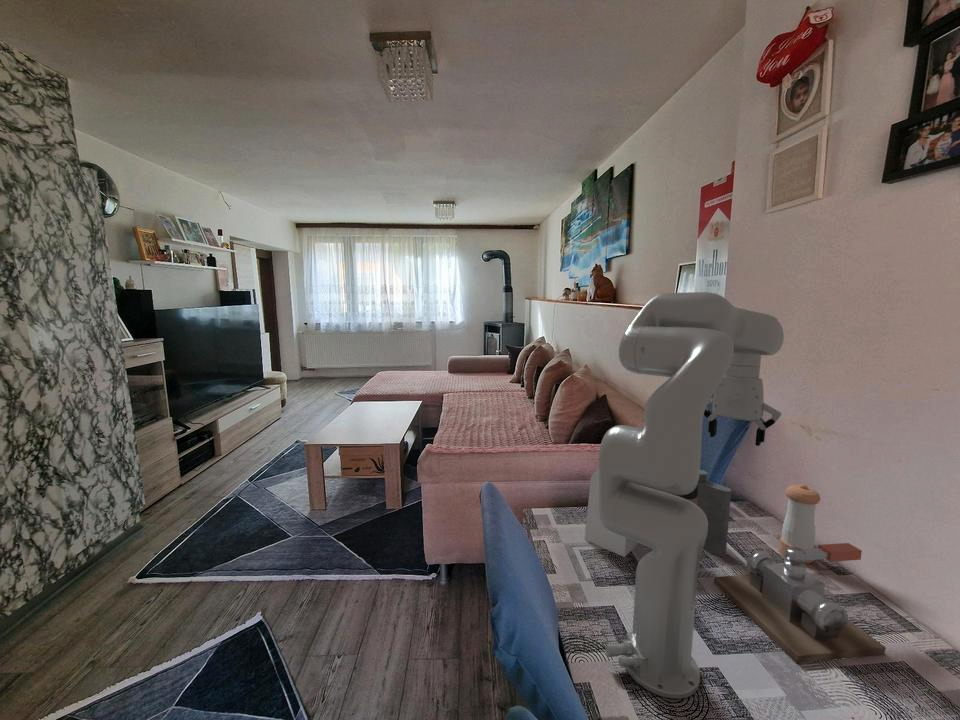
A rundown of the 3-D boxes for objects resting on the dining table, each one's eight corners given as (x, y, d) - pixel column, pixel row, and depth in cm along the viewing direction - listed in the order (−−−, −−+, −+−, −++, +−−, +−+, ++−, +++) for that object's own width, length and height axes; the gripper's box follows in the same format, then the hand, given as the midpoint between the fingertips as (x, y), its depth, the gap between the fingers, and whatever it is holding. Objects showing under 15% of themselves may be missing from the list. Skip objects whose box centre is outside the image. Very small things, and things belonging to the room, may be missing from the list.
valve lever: (794, 567, 82) (796, 555, 82) (781, 557, 85) (782, 546, 85) (861, 562, 84) (862, 551, 84) (845, 553, 87) (847, 542, 87)
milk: (605, 523, 121) (609, 438, 118) (643, 538, 113) (649, 448, 110) (584, 539, 113) (588, 448, 110) (624, 557, 105) (630, 459, 102)
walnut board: (796, 663, 73) (797, 655, 73) (713, 582, 95) (714, 576, 95) (884, 654, 76) (885, 647, 75) (783, 577, 97) (784, 571, 97)
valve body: (814, 644, 76) (820, 594, 75) (742, 580, 94) (746, 539, 92) (848, 641, 77) (854, 591, 75) (770, 578, 94) (774, 538, 93)
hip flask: (728, 553, 107) (734, 480, 104) (718, 558, 105) (725, 483, 102) (674, 525, 121) (679, 460, 118) (665, 528, 119) (669, 462, 116)
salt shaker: (815, 554, 107) (823, 484, 104) (812, 567, 101) (821, 493, 99) (780, 543, 112) (787, 476, 109) (776, 555, 106) (784, 484, 104)
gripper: (697, 369, 102) (692, 436, 104) (782, 377, 91) (775, 452, 93) (705, 366, 108) (700, 429, 110) (786, 373, 96) (779, 444, 98)
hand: (734, 440), depth 101 cm, fingers open, 9 cm apart
